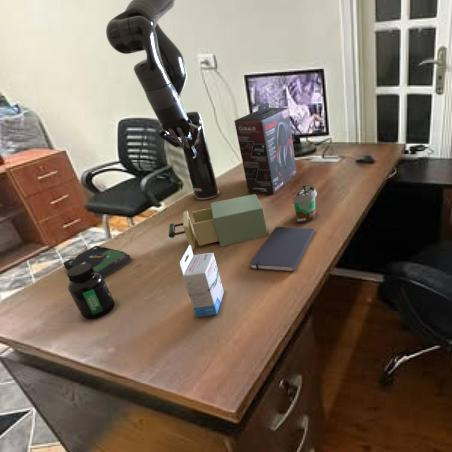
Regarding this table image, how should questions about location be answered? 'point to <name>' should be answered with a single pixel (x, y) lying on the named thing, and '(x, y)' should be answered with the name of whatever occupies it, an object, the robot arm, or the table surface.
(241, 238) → the cabinet
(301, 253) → the notebook
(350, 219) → the table surface
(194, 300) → the ink box
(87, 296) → the supplement bottle
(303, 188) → the food container
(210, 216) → the drawer
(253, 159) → the headset box
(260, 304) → the table surface
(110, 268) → the disk drive
